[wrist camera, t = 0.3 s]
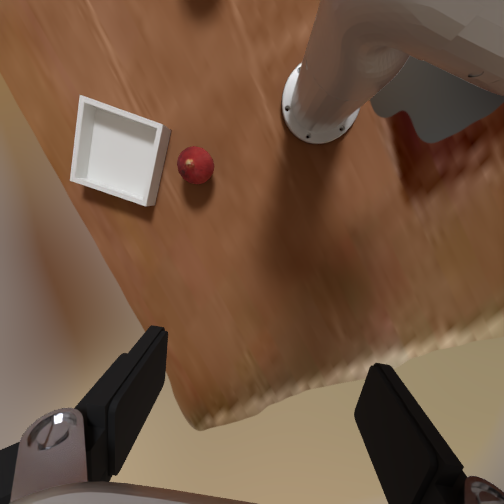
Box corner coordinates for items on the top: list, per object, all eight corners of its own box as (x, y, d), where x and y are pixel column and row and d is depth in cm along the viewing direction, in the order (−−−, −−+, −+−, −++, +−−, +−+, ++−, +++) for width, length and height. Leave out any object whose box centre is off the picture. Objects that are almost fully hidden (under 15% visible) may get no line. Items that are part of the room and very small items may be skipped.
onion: (198, 190, 43) (183, 191, 35) (179, 163, 42) (160, 157, 34) (223, 172, 42) (214, 168, 34) (205, 143, 41) (191, 133, 33)
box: (95, 102, 40) (79, 94, 36) (171, 129, 40) (162, 124, 37) (85, 181, 43) (69, 180, 40) (154, 205, 44) (145, 206, 41)
